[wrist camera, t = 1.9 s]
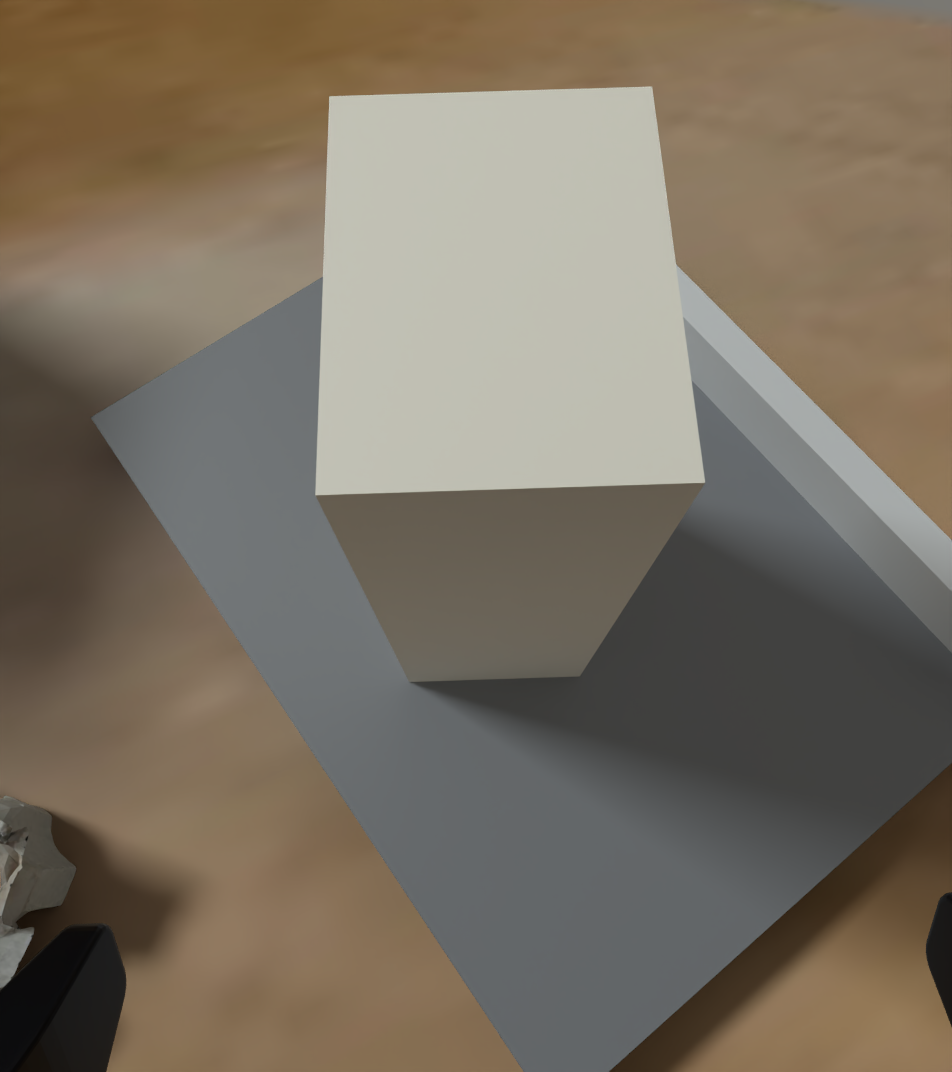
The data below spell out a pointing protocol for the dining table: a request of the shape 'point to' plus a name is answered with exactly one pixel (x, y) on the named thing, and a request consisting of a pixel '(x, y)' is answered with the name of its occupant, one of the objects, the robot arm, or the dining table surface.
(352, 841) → the dining table surface
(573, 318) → the tea box
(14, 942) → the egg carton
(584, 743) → the shelf board
